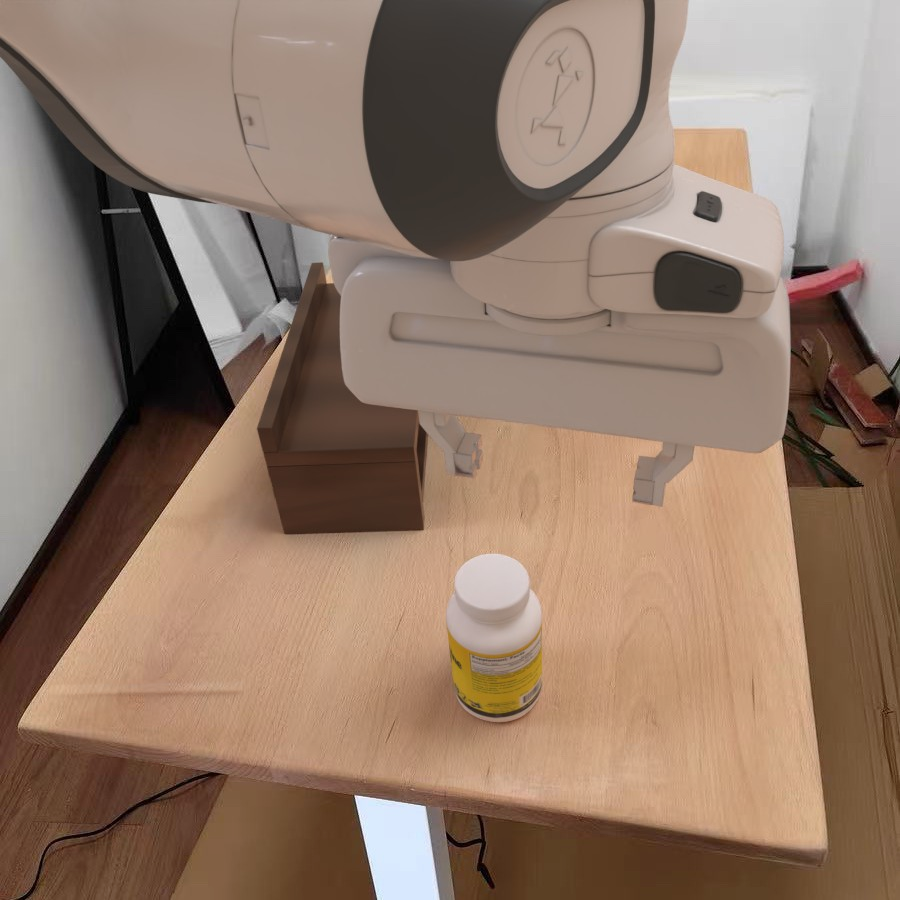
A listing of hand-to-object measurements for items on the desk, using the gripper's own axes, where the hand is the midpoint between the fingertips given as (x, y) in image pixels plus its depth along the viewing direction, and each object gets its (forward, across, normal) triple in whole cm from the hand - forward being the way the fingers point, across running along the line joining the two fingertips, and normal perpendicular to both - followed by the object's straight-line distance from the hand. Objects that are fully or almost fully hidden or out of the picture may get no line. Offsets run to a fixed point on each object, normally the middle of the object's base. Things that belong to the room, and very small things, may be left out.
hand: (554, 482), depth 44 cm
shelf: (+22, -24, +28) cm, 43 cm away
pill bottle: (+22, -4, +2) cm, 23 cm away
